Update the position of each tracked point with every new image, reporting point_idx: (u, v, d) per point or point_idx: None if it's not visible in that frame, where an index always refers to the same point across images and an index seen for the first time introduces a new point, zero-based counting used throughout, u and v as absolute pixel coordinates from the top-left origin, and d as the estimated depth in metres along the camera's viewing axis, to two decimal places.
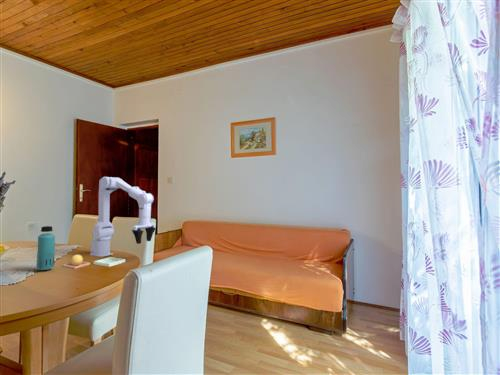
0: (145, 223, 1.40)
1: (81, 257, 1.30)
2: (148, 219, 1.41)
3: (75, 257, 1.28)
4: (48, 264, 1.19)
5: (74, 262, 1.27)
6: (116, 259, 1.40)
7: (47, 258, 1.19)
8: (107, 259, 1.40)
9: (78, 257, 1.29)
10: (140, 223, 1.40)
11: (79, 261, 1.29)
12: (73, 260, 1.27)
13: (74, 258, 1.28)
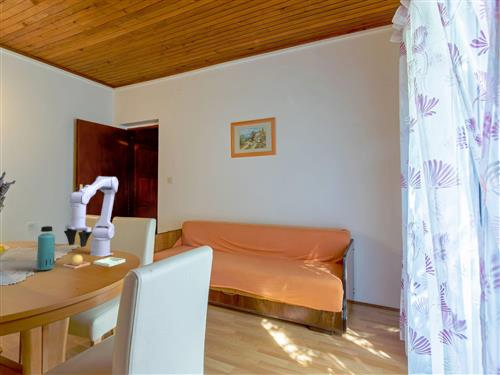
0: (71, 224, 1.28)
1: (81, 257, 1.30)
2: (72, 220, 1.27)
3: (75, 257, 1.28)
4: (48, 264, 1.19)
5: (74, 262, 1.27)
6: (116, 259, 1.40)
7: (47, 258, 1.19)
8: (107, 259, 1.40)
9: (78, 257, 1.29)
10: None
11: (79, 261, 1.29)
12: (73, 260, 1.27)
13: (74, 258, 1.28)
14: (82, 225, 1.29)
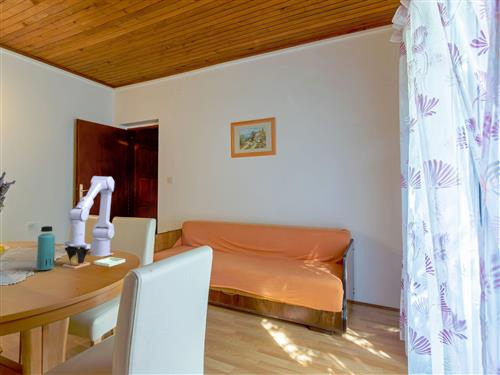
0: (70, 241, 1.28)
1: None
2: (71, 237, 1.27)
3: (75, 257, 1.28)
4: (48, 264, 1.19)
5: (74, 262, 1.27)
6: (116, 259, 1.40)
7: (47, 258, 1.19)
8: (107, 259, 1.40)
9: None
10: None
11: None
12: (73, 260, 1.27)
13: (74, 258, 1.28)
14: (81, 242, 1.29)
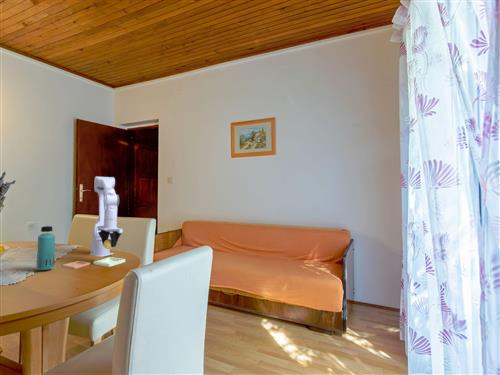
0: (103, 225, 1.34)
1: None
2: (105, 222, 1.33)
3: (108, 241, 1.34)
4: (48, 264, 1.19)
5: (107, 246, 1.33)
6: (116, 259, 1.40)
7: (47, 258, 1.19)
8: (107, 259, 1.40)
9: (110, 241, 1.34)
10: None
11: None
12: (106, 244, 1.33)
13: (107, 242, 1.33)
14: (114, 226, 1.35)
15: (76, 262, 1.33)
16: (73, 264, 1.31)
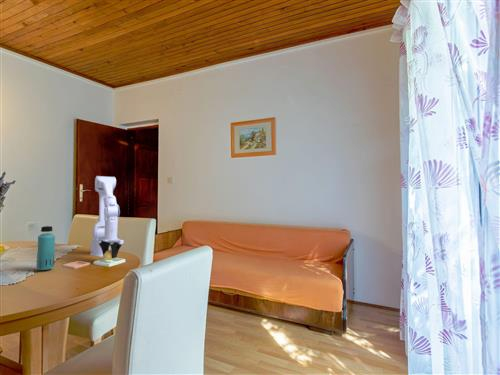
0: (104, 237, 1.34)
1: None
2: (105, 233, 1.33)
3: (108, 252, 1.34)
4: (48, 264, 1.19)
5: (107, 257, 1.33)
6: (116, 259, 1.40)
7: (47, 258, 1.19)
8: None
9: (111, 252, 1.34)
10: None
11: None
12: (106, 255, 1.33)
13: (107, 253, 1.34)
14: (115, 237, 1.35)
15: (76, 262, 1.33)
16: (73, 264, 1.31)
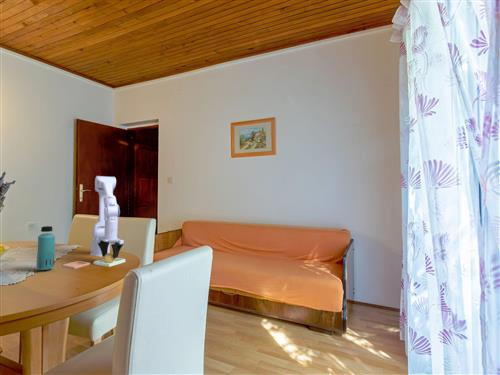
0: (104, 237, 1.34)
1: None
2: (105, 233, 1.33)
3: (108, 255, 1.34)
4: (48, 264, 1.19)
5: (107, 260, 1.33)
6: (116, 259, 1.40)
7: (47, 258, 1.19)
8: None
9: (111, 255, 1.34)
10: None
11: (112, 259, 1.34)
12: (106, 258, 1.33)
13: (107, 256, 1.34)
14: (115, 237, 1.35)
15: (76, 262, 1.33)
16: (73, 264, 1.31)
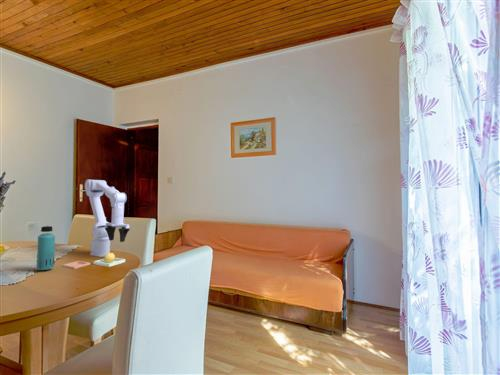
0: None
1: (113, 255, 1.36)
2: (112, 218, 1.42)
3: (108, 255, 1.34)
4: (48, 264, 1.19)
5: (107, 260, 1.33)
6: (116, 259, 1.40)
7: (47, 258, 1.19)
8: None
9: (111, 255, 1.34)
10: None
11: (112, 259, 1.34)
12: (106, 258, 1.33)
13: (107, 256, 1.34)
14: (121, 222, 1.43)
15: (76, 262, 1.33)
16: (73, 264, 1.31)
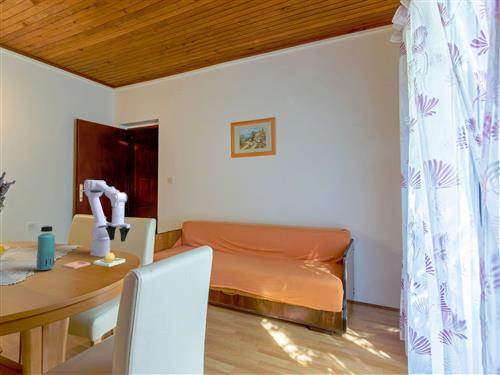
0: (112, 221, 1.43)
1: (113, 255, 1.36)
2: (113, 218, 1.42)
3: (108, 255, 1.34)
4: (48, 264, 1.19)
5: (107, 260, 1.33)
6: (116, 259, 1.40)
7: (47, 258, 1.19)
8: None
9: (111, 255, 1.34)
10: None
11: (112, 259, 1.34)
12: (106, 258, 1.33)
13: (107, 256, 1.34)
14: (122, 222, 1.44)
15: (76, 262, 1.33)
16: (73, 264, 1.31)
